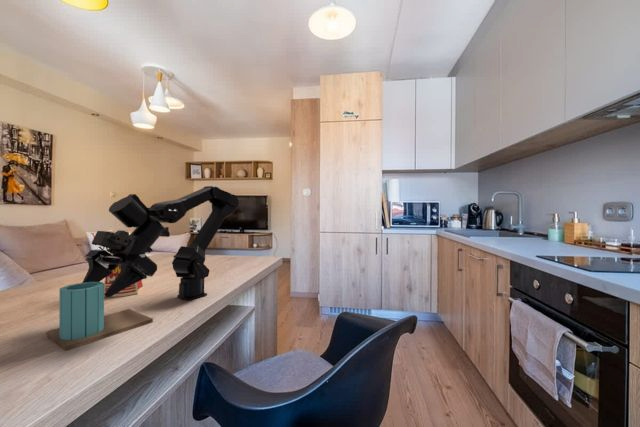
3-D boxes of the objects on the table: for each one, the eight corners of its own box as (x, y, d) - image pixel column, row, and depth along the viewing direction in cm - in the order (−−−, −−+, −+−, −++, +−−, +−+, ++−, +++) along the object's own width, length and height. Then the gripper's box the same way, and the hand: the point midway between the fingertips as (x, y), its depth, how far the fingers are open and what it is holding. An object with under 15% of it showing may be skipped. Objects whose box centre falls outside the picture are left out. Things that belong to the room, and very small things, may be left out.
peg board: (129, 311, 72) (129, 294, 72) (152, 321, 66) (152, 302, 65) (46, 335, 58) (46, 313, 58) (65, 350, 52) (65, 325, 52)
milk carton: (112, 290, 91) (112, 231, 91) (143, 287, 94) (144, 231, 94) (101, 298, 82) (101, 233, 82) (136, 295, 86) (136, 233, 85)
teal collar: (82, 324, 62) (82, 281, 62) (111, 326, 61) (112, 282, 61) (49, 339, 55) (49, 290, 55) (82, 340, 54) (82, 291, 54)
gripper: (94, 217, 68) (35, 270, 58) (144, 219, 61) (88, 279, 51) (126, 244, 75) (79, 295, 65) (175, 248, 68) (131, 306, 58)
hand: (93, 293), depth 60 cm, fingers open, 9 cm apart
